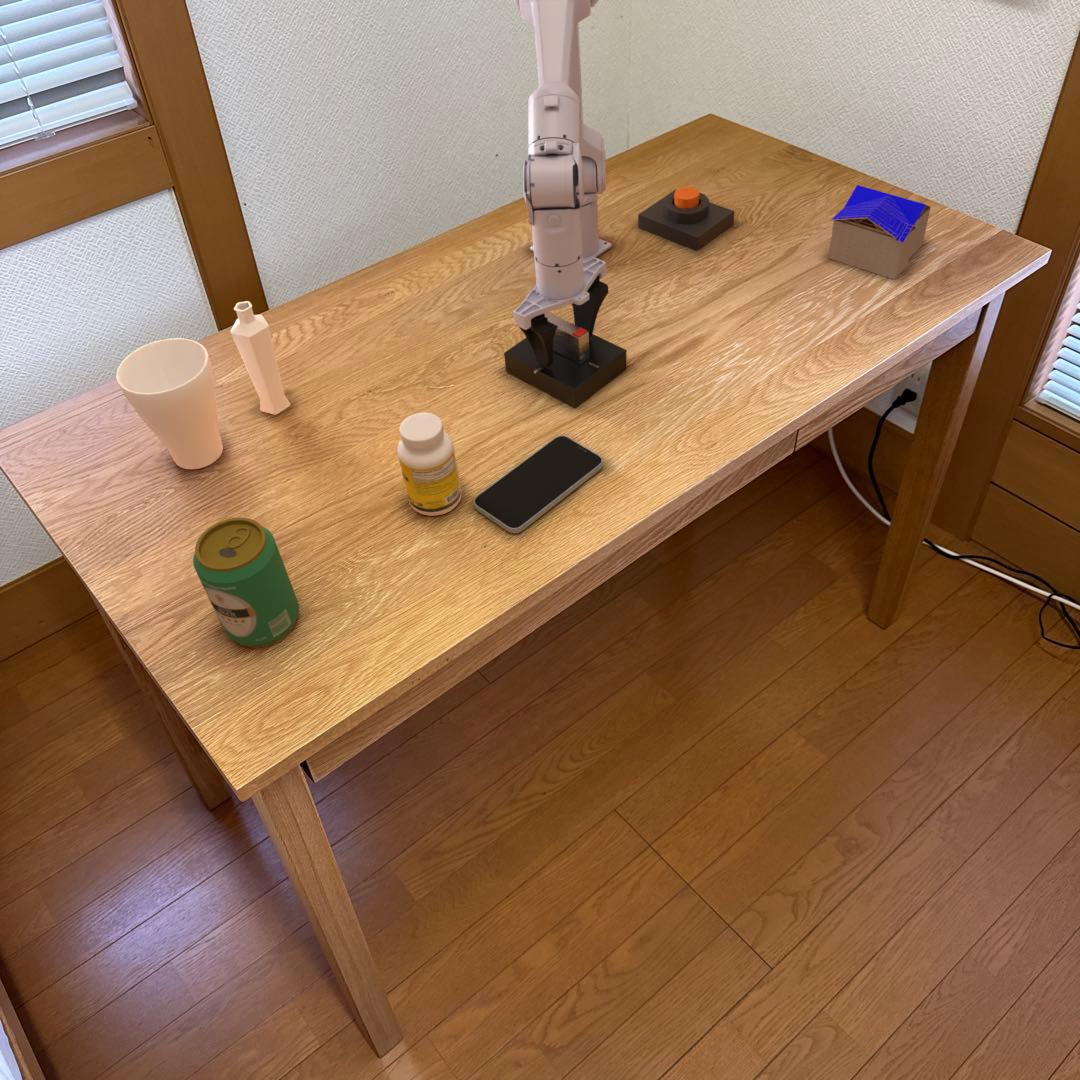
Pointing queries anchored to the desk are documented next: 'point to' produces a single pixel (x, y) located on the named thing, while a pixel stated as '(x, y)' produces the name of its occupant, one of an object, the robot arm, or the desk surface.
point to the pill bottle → (428, 465)
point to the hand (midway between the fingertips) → (564, 348)
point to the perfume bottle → (259, 357)
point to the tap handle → (570, 340)
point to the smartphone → (538, 484)
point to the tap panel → (568, 370)
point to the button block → (686, 221)
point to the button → (686, 198)
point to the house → (878, 231)
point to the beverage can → (246, 582)
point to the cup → (175, 398)
